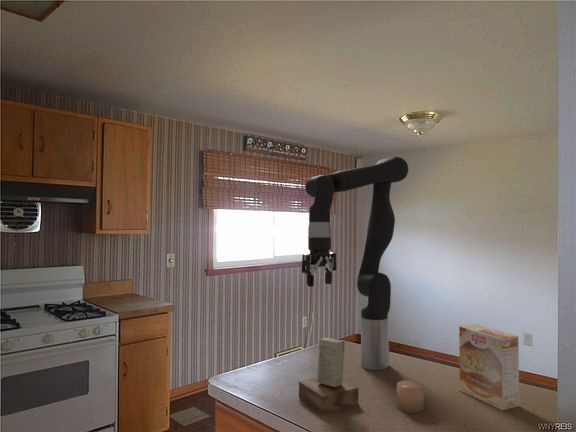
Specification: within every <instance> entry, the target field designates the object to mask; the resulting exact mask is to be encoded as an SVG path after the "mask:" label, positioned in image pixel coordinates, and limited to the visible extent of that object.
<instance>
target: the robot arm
mask: <svg viewBox="0 0 576 432" xmlns="http://www.w3.org/2000/svg"><path fill="white" fill-rule="evenodd" d="M408 173H409V165H408V162H407V161H406V160H405V159H404V158H403V157H400V156H391V157H386V158H382V159H379V160H378V161H377V162H376V164H375V165H369V166H361V167H356V168H349V169H345V170H344V169H343V170H340V171H336V172H333V173H329V174H320V175H316V176H312V177H310V178H309V179H307V181H306V183H305V185H304V186H305V187H304V188H305V192H306V194H307V195H308V196H309V197H313V198H314V201H313V203H312V204H311V205H310V206H309V210H308V221H309V222H308V229H307V230H308V231H307V236H308V237H307V239H308V240H307V243H308V245H307V247H308V248H307V249H308V251H309V254H305V253H304V254H302V256H301V257H302V258H301V273H302V274H305V275H306V285H307V287H311V288H312V287H314V286H315V275H314V274H315V272H316V270H317V269H318V268H322V269H324V271H325V273H324V284H327V285H331V284H332V282H333V281H332V280H333V273H334V271H337V253H336V252H330V250H332V227H331V207H332V204H333V200H334V196H335V195H334V194H335V193H340V192H341V193H342V192H343V193H344V192H347V191H351V190H354V189H359V188H362V187H365V186H369V185H373V186H372V198H371V203H370V212H369V218H368V225H367V231H366V238H365V244H364V250H363V256H362V261H361V265H360V268H359V271H358V276H357V281H356V286H357V291H358V292H359V294H360V295H362V296H364V297H367V305H366V306H365V307H362V309H361V311H360V315H361V317H360V321H361V322H360V326H361V328H360V333H361V337H360V341H361V343H360V344H361V345H360V349H361V351H360V352H361V354H360V357H361V358H360V360H361V362H360V363H361V365H360V366H361V367H362V368H364V369H367V370H369V371H384V370H387V369H388V368H389V365H390V338H389V337H388V336H389V335H388V334H389V323H388V322H389V321H388V319H389V316H388V315H389V312H390V309H391V297H392V296H391V294H392V293H391V292H392V291H391V290H392V286H391V285H392V284H391V280H390V278H389V276H388V275H387V274H385V273H382V272H379V269H380V263H381V259H382V256H383V255H384V253H385V252H386V250H387V248H388V247H389V245H390V243H391V241H392V239H393V236H394V230H395V223H396V222H395V221H396V217H395V213H394V210H393V207H392V203H391V199H390V194H391V186H392V184H393V183H398V182H401V181H404V179H406V177H407V176H408Z"/></svg>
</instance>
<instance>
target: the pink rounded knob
mask: <svg viewBox="0 0 576 432" xmlns="http://www.w3.org/2000/svg"><path fill="white" fill-rule="evenodd" d="M424 389H425V388H424V385H423V384H421V383H420V382H418V381H414V380H401V381H398V382H397V383H396V407H397V408H398V410H400V411H401V412H405V413H407V414H419V413H422V412H424V410H425V408H424V407H425V406H424V405H425V404H424V403H425V402H424V400H425V398H424V392H425V391H424Z"/></svg>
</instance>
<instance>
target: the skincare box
mask: <svg viewBox="0 0 576 432" xmlns="http://www.w3.org/2000/svg"><path fill="white" fill-rule="evenodd" d="M345 343H346V341H345V340H341V339H336V338H331V337H324V338H319V341H318V357H317V358H318V360H317V373H316V374H317V375H316V378H317V382H318V383H322V384H325V385H329V386H332V387H337V386H340V385H342V380H344V377H343V375H344V364H345V363H344V361H345V360H344V358H345Z"/></svg>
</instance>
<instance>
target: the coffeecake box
mask: <svg viewBox="0 0 576 432" xmlns="http://www.w3.org/2000/svg"><path fill="white" fill-rule="evenodd" d="M458 328H459V329H458V331H459V340H458V341H459V343H458V344H459V347H458V348H459V350H458V351H459V391H461V392H463V393H465V394H466V395H469V396H471V397H473V398H475V399H477V400H479V401H481V402H483V403H486V404H488V405H490V406H492V407H494V408H496V409H498V410H501V411H506V410H509V409H513V408H518V407H520V379H519V378H520V375H519V374H520V373H519V372H520V368H519V366H520V362H519V359H520V358H519V357H520V353H519V335H515V334H512V333H507V332H504V331H502V330H501V331H500V330H497V329H493V328H489V327H487V326H483V325H479V324H474V323H473V324H468V325H467V324H465V325H464V324H463V325H459V326H458Z"/></svg>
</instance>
